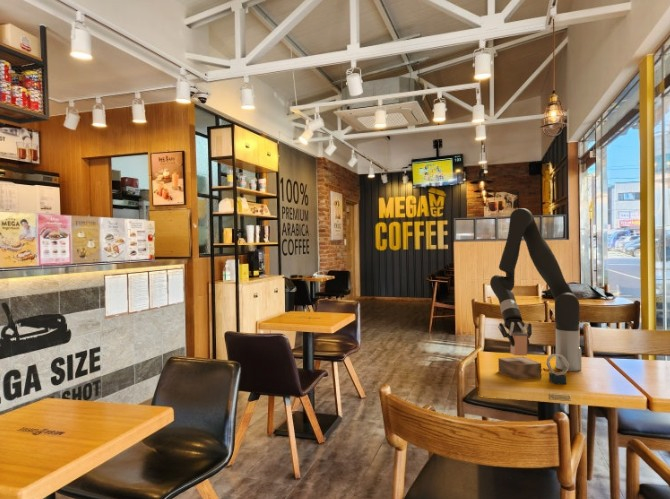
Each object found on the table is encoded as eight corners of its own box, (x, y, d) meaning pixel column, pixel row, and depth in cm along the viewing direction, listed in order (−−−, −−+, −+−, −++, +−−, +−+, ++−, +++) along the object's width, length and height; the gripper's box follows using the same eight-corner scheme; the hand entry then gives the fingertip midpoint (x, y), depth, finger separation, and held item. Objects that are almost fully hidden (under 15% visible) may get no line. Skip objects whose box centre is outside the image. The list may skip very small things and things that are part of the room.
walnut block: (523, 370, 198) (523, 356, 198) (541, 377, 187) (541, 363, 187) (498, 372, 196) (498, 358, 196) (515, 380, 184) (515, 365, 184)
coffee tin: (522, 352, 194) (522, 331, 194) (527, 355, 189) (527, 334, 188) (510, 352, 194) (510, 331, 194) (514, 355, 189) (514, 333, 189)
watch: (571, 384, 177) (571, 356, 177) (550, 384, 177) (549, 355, 177) (565, 380, 182) (565, 352, 182) (544, 379, 183) (544, 352, 183)
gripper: (496, 306, 199) (505, 340, 187) (529, 307, 198) (540, 340, 186) (492, 317, 204) (500, 349, 192) (524, 317, 204) (535, 350, 192)
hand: (520, 345), depth 189 cm, fingers closed on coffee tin, 5 cm apart
